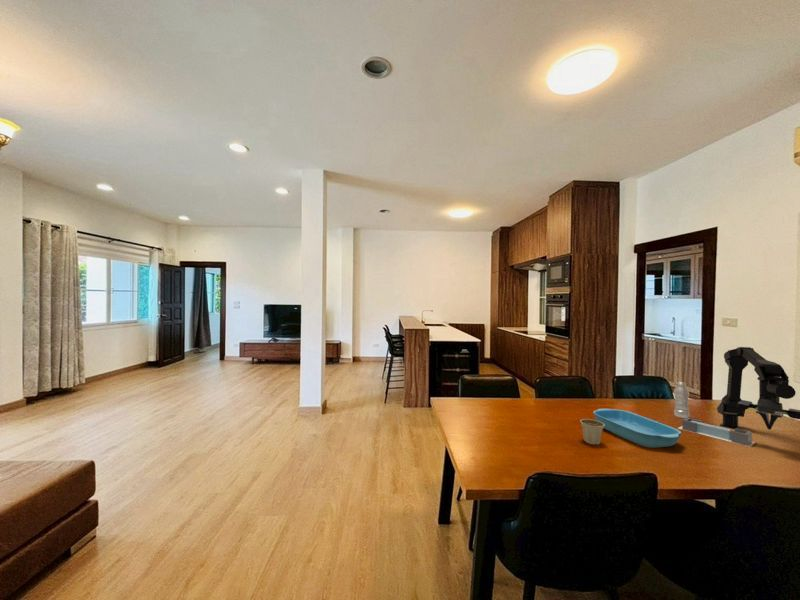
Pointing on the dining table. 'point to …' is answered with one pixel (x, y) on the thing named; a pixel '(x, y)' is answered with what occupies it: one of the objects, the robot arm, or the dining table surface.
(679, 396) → the plastic bottle
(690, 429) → the cap fixed
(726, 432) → the slat
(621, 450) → the dining table surface
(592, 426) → the flower pot
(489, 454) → the dining table surface
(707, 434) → the board
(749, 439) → the cap sliding
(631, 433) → the casserole dish
